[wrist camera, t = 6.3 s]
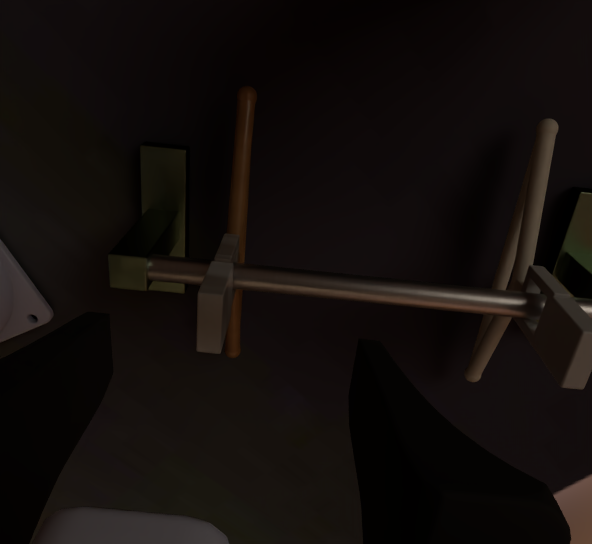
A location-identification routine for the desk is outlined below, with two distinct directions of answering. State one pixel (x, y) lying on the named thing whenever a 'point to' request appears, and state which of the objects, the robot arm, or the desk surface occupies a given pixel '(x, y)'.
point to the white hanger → (537, 285)
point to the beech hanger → (229, 247)
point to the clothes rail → (183, 270)
